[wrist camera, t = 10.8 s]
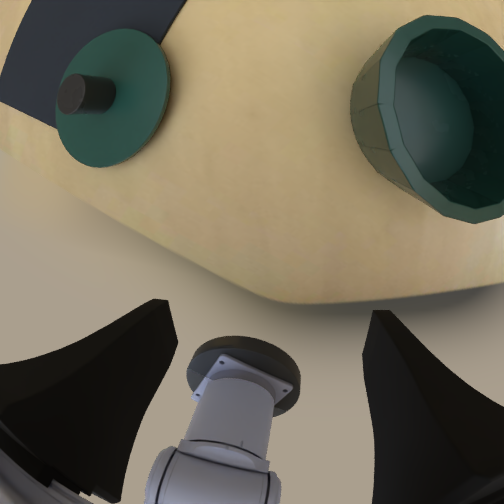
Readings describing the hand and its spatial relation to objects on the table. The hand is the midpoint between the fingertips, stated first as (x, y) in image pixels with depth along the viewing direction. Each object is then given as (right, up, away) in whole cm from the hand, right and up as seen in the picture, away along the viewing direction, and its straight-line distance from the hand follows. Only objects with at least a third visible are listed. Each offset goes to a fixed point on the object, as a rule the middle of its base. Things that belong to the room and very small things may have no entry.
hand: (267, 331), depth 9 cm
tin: (+10, +11, +4) cm, 15 cm away
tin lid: (-10, +13, +6) cm, 18 cm away
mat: (-16, +21, +4) cm, 27 cm away
